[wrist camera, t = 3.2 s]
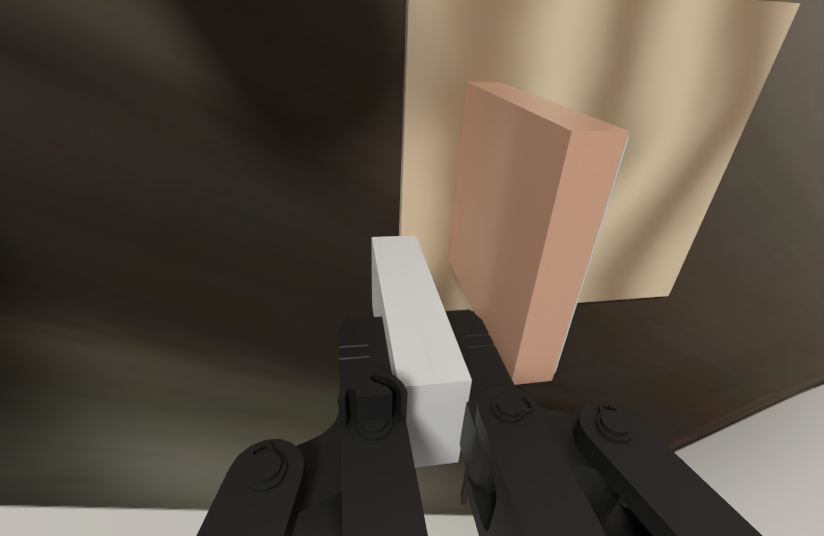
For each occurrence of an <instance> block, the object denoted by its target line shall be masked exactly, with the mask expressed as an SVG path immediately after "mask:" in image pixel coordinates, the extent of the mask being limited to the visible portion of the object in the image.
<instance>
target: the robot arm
mask: <svg viewBox="0 0 824 536" xmlns="http://www.w3.org/2000/svg"><path fill="white" fill-rule="evenodd" d="M372 306H373V313H374V317H366V318H351V319H346V320H345V322H344V323H343V325H342V327H341V329H340V330H339V360H340V361H339V363H340V393H339V397H338V406H339V414H338V417H337V419H336V421H335V422H334V423H333V424H332V426H331V427H330V428H329V429H328V430H326V431H325V432H324V433H323V434H321V435H319V436H318V437H316V438H314V439H312V440H309V441H307V442H304V443H302V444H300V445H297V446H295V445H294V444H292V443H291V442H288V441H284V440H281V439H272V440H264V441H261V442H259V443H256V444H254V445H251V446H250V447H249V448H247V449H246V450H245V451H243V452H242V453H241V454H240V455H238V457H237V458H236V460H235V461H234V462H233V464H232V465H231V467H230V468H229V470H228V472H227V474H226V476H225V478H224V480H223V482H222V484H221V487H220V489H219V491H218V493H217V495H216V497H215V499H214V501H213V503H212V505H211V507H210V509H209V511H208V513H207V515H206V517H205V519H204V522H203V524H202V526H201V528H200V530H199V532H198V534H197V536H428V534H427V529H426V523H425V518H424V513H423V507H422V502H421V497H420V491H419V486H418V481H417V476H416V470H415V468H417V467H424V466H432V465H440V464H447V463H455V462H458V460H459V454H460V448H461V451H462V455H463V458H464V461H465V465H466V469H465V474H464V480H463V485H462V490H461V505H465V504H466V502H467V497H468V498H469V502H470V505H471V509H472V513H473V516H474V520H475V523H476V527H477V530H478V533H479V536H762V535H761V534H760V533H759V532H758V531H757V530H756V529H755V528H754V527H753V526H752V525H750V524H749V523H748V522H747V521H746V520H745V519H744V518H743V517H742V516H741V515H740V514H739V513H738V512H737V511H736V510H735V509H734V508H733V507H731V506H730V505H729V504H728V503H727V502H726V501H725V500H724V499H723V498H722V497H721V496H720V495H719V494H718V493H716V491H714V490H713V489H712V488H711V487H710V486H709V485H708V484H707V483H706V482H705V481H704V480H703V479H702V478H701V477H700V476H699V475H698V474H696V473H695V472H694V471H693V470H692V469H691V468H690V467H689V466H688V465H687V464H686V463H685V462H684V461H683V460H682V459H681V458H679V457H678V456H677V455H676V454H675V453H674V452H673V451H672V450H671V449H670V448H669V447H668V446H667V445H666V444H665V443H664V442H663V441H661V440H660V439H659V438H658V437H657V436H656V435H655V434H654V433H653V432H652V431H651V430H650V429H649V428H648V427H647V426H646V425H644V424H643V423H642V422H641V421H640V420H639V419H638V418H637V417H636V416H634V415H633V414H632V413H630V412H629V411H628V410H626V409H625V408H623V407H620V406H618V405H616V404H613V403H609V402H603V401H597V402H590V403H588V404H587V405H585V406H584V407H583V408H582V410H581V412H580V415H576V414H571V413H565V412H559V411H553V410H549V409H545V408H542V407H540V406H538V405H537V404H536V402H535V401H534V400H533V399H532V397H531V396H529V395H528V394H526V393H525V392H523V391H522V390H520V389H517V388H516V386H515V385H514V383H513V381H512V379H511V377H510V375H509V373H508V371H507V369H506V367H505V365H504V363H503V361H502V359H501V357H500V355H499V353H498V351H497V349H496V347H495V346H494V343H493V341H492V338H491V336H490V335H489V332H488V330H487V328H486V326H485V324H484V322H483V320H482V319H481V318H479V317H478V316H477V315H476V314H475V313H474V312H472V311H471V310H470V309H467V310H452V311H445V310H444V307H443V304H442V302H441V299H440V297H439V294H438V291H437V289H436V286H435V284H434V281H433V278H432V276H431V273H430V271H429V268H428V266H427V263H426V260H425V258H424V255H423V253H422V250H421V247H420V245H419V242H418V240H417V237H416V236H394V237H372Z"/></svg>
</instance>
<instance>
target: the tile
mask: <svg viewBox="0 0 824 536" xmlns="http://www.w3.org/2000/svg"><path fill="white" fill-rule="evenodd" d="M628 135H629V131H628V130H625V129H623V128H620V127H617V126H615V125H612V124H609V123H607V122H604V121H602V120H599V119H596V118H594V117H591V116H589V115H586V114H583V113H581V112H578V111H575V110H573V109H570V108H568V107H565V106H562V105H560V104H557V103H554V102H552V101H549V100H547V99H544V98H541V97H539V96H536V95H534V94H531V93H528V92H526V91H523V90H520V89H518V88H515V87H513V86H510V85H507V84H505V83H496V82H467V89H466V99H465V108H464V118H463V128H462V137H461V147H460V156H459V166H458V175H457V185H456V194H455V204H454V213H453V223H452V233H451V242H450V252H449V263H450V265H451V267H452V269H453V271H454V273H455V275H456V277H457V279H458V281H459V283H460V285H461V287H462V289H463V291H464V293H465V295H466V297H467V299H468V301H469V303H470V305H471V307H472V309H473V311H474V313H475V314H476V315H477V316H478V317H479V318H481V319H482V320H483V322H484V324H485V326H486V328H487V330H488V332H489V335H490V336H491V338H492V341H493V343H494V346H495V347H496V349H497V351H498V353H499V355H500V357H501V359H502V361H503V363H504V365H505V367H506V369H507V371H508V373H509V375H510V377H511V379H512V381H513V383H514V385H516V384H525V383H534V382H543V381H552V379H553V375H554V373H555V372H556V369H557V366H558V362H559V359H560V356H561V353H562V350H563V346H564V343H565V340H566V337H567V334H568V331H569V327H570V324H571V321H572V318H573V315H574V311H575V308H576V305H577V302H578V299H579V295H580V292H581V289H582V286H583V283H584V279H585V276H586V273H587V270H588V267H589V263H590V260H591V257H592V254H593V251H594V247H595V244H596V241H597V238H598V235H599V231H600V228H601V225H602V222H603V219H604V215H605V212H606V209H607V206H608V203H609V200H610V196H611V193H612V190H613V187H614V184H615V180H616V177H617V174H618V171H619V168H620V164H621V161H622V158H623V155H624V152H625V148H626V145H627V142H628V139H629V136H628Z"/></svg>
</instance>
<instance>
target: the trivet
mask: <svg viewBox="0 0 824 536" xmlns="http://www.w3.org/2000/svg"><path fill="white" fill-rule="evenodd" d="M799 5H800V3H787V2H773V1H758V0H406V27H405V60H404V92H403V124H402V157H401V189H400V221H399V236H416V237H417V240H418V242H419V245H420V247H421V250H422V253H423V255H424V258H425V260H426V263H427V266H428V268H429V271H430V273H431V276H432V278H433V281H434V284H435V286H436V289H437V291H438V294H439V297H440V299H441V302H442V304H443V307H444V310H445V311H452V310H467V309H470V310H471V311H473V309H472V307H471V305H470V303H469V301H468V299H467V297H466V295H465V293H464V291H463V289H462V287H461V285H460V283H459V281H458V279H457V277H456V275H455V273H454V271H453V269H452V267H451V265H450V263H449V252H450V242H451V233H452V223H453V213H454V204H455V194H456V185H457V175H458V166H459V156H460V147H461V137H462V128H463V118H464V108H465V99H466V89H467V82H496V83H505V84H507V85H510V86H513V87H515V88H518V89H520V90H523V91H526V92H528V93H531V94H534V95H536V96H539V97H541V98H544V99H547V100H549V101H552V102H554V103H557V104H560V105H562V106H565V107H568V108H570V109H573V110H575V111H578V112H581V113H583V114H586V115H589V116H591V117H594V118H596V119H599V120H602V121H604V122H607V123H609V124H612V125H615V126H617V127H620V128H623V129H625V130H628V131H629V135H628V136H629V139H628V142H627V145H626V148H625V152H624V155H623V158H622V161H621V164H620V168H619V171H618V174H617V177H616V180H615V184H614V187H613V190H612V193H611V196H610V200H609V203H608V206H607V209H606V212H605V215H604V219H603V222H602V225H601V228H600V231H599V235H598V238H597V241H596V244H595V247H594V251H593V254H592V257H591V260H590V263H589V267H588V270H587V273H586V276H585V279H584V283H583V286H582V289H581V292H580V295H579V299H578V302H577V303H582V302H595V301H608V300H621V299H635V298H648V297H661V296H669V293H670V291H671V289H672V287H673V285H674V282H675V280H676V278H677V276H678V273H679V271H680V269H681V267H682V265H683V262H684V260H685V258H686V256H687V254H688V251H689V249H690V247H691V245H692V242H693V240H694V238H695V236H696V234H697V231H698V229H699V227H700V225H701V222H702V220H703V218H704V216H705V214H706V211H707V209H708V207H709V205H710V203H711V200H712V198H713V196H714V194H715V191H716V189H717V187H718V185H719V183H720V180H721V178H722V176H723V174H724V171H725V169H726V167H727V165H728V163H729V160H730V158H731V156H732V154H733V152H734V149H735V147H736V145H737V143H738V140H739V138H740V136H741V134H742V132H743V129H744V127H745V125H746V123H747V120H748V118H749V116H750V114H751V112H752V109H753V107H754V105H755V103H756V101H757V98H758V96H759V94H760V92H761V89H762V87H763V85H764V83H765V81H766V78H767V76H768V74H769V72H770V69H771V67H772V65H773V63H774V61H775V58H776V56H777V54H778V52H779V49H780V47H781V45H782V43H783V41H784V38H785V36H786V34H787V32H788V30H789V27H790V25H791V23H792V21H793V18H794V16H795V14H796V12H797V10H798V7H799Z"/></svg>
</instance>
